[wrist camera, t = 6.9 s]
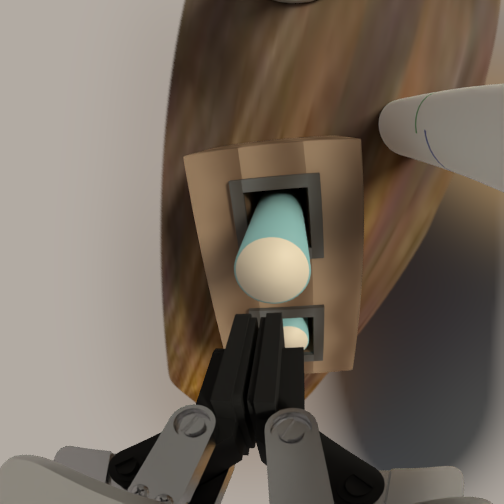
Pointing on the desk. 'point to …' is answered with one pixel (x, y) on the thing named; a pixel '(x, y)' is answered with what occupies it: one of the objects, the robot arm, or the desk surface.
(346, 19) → the desk surface
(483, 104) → the cylindrical container
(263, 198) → the peg
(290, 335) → the peg
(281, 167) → the walnut block
